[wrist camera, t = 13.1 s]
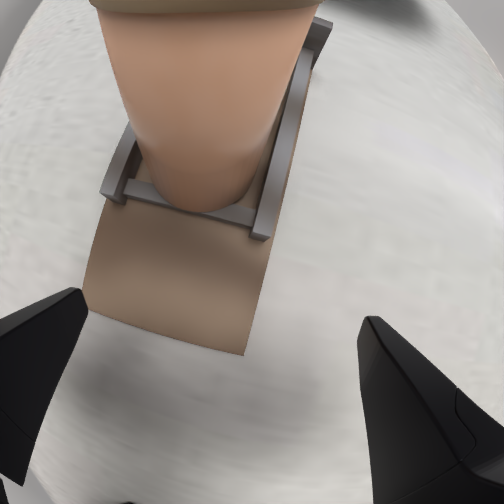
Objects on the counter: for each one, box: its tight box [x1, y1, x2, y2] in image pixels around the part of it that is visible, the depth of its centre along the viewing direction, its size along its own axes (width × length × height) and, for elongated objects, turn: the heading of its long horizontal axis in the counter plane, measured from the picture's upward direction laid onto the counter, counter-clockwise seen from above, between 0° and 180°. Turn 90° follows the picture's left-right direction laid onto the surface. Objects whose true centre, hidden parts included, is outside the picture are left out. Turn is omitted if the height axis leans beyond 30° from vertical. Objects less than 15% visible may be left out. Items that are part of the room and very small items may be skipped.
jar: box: [89, 0, 325, 212], centre depth 10 cm, size 7×7×13 cm
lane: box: [82, 16, 333, 356], centre depth 15 cm, size 23×11×6 cm, turn 166°
